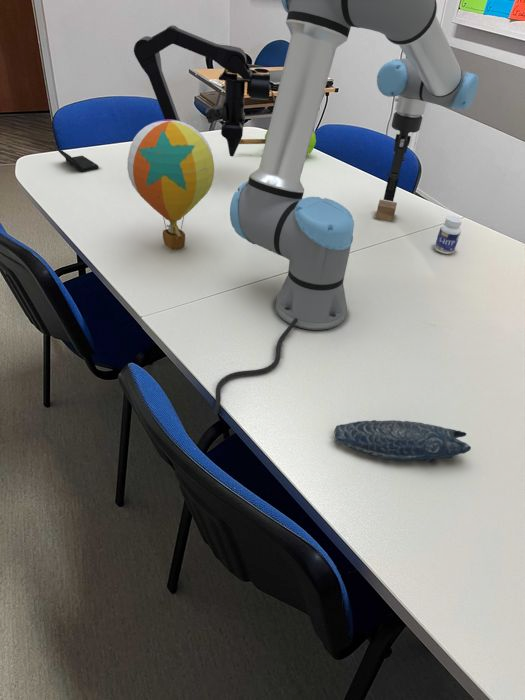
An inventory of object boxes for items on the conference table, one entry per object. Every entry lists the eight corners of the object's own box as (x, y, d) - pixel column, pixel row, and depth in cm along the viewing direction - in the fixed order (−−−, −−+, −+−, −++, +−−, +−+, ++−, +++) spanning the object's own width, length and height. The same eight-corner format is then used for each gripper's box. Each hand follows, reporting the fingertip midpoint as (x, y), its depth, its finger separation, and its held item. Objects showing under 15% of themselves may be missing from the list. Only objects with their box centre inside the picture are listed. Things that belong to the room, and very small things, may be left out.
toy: (119, 241, 130) (106, 114, 112) (184, 223, 141) (182, 104, 122) (161, 274, 119) (154, 140, 101) (229, 252, 130) (233, 127, 111)
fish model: (468, 474, 80) (479, 453, 77) (333, 457, 81) (338, 435, 78) (460, 442, 85) (469, 421, 82) (333, 426, 86) (337, 404, 83)
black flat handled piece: (103, 161, 168) (81, 139, 159) (91, 179, 166) (69, 158, 158) (82, 157, 174) (60, 135, 166) (70, 174, 173) (48, 153, 164)
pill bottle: (433, 251, 139) (442, 220, 133) (435, 243, 143) (444, 213, 137) (453, 256, 138) (464, 225, 132) (454, 247, 142) (465, 217, 136)
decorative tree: (231, 119, 188) (311, 119, 193) (231, 149, 194) (308, 148, 199) (238, 134, 174) (324, 133, 179) (238, 165, 181) (321, 163, 186)
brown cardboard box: (376, 212, 157) (379, 199, 154) (393, 215, 156) (396, 202, 153) (375, 218, 153) (378, 205, 151) (392, 221, 152) (395, 208, 150)
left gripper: (210, 87, 160) (209, 139, 170) (204, 103, 145) (203, 159, 155) (246, 90, 160) (243, 142, 170) (243, 106, 146) (240, 162, 155)
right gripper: (397, 101, 147) (381, 175, 160) (390, 123, 128) (372, 205, 141) (424, 104, 145) (405, 179, 159) (421, 128, 126) (400, 210, 140)
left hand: (232, 151), depth 163 cm, fingers open, 9 cm apart
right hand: (390, 191), depth 150 cm, fingers open, 13 cm apart
